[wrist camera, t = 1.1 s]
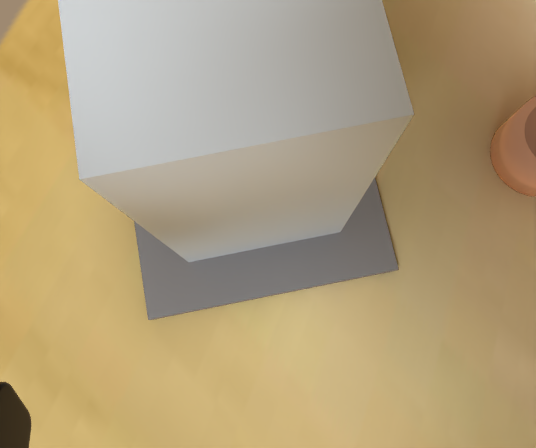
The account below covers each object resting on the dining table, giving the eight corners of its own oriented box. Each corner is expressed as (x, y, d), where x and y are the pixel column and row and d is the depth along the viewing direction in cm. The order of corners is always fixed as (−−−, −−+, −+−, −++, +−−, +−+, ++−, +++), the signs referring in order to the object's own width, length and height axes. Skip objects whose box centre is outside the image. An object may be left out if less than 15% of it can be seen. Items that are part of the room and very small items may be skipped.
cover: (340, 232, 22) (414, 114, 10) (188, 262, 21) (79, 179, 10) (307, 93, 23) (337, -154, 11) (165, 120, 23) (46, -101, 11)
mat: (396, 270, 21) (398, 269, 21) (150, 319, 21) (148, 319, 21) (340, 50, 24) (341, 45, 23) (118, 92, 24) (115, 89, 23)
